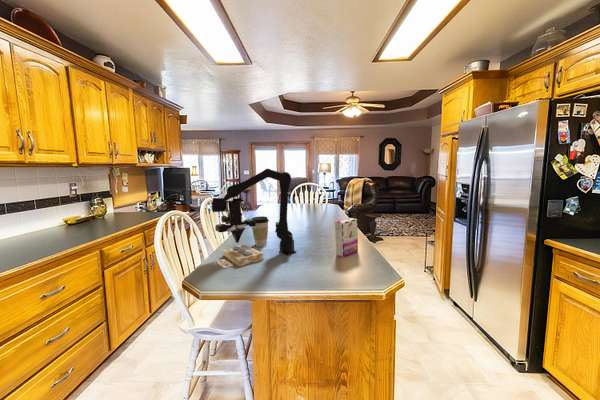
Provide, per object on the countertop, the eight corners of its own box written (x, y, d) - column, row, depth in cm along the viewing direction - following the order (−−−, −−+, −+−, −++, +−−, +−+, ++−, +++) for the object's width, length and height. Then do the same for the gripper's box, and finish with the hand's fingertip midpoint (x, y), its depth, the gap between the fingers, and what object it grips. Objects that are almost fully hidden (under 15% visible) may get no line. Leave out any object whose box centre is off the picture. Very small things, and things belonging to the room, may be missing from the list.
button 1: (239, 249, 135) (238, 244, 135) (241, 250, 133) (241, 246, 132) (233, 250, 133) (233, 245, 133) (236, 252, 131) (235, 247, 130)
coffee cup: (255, 242, 154) (253, 216, 152) (271, 242, 153) (270, 216, 151) (249, 247, 145) (247, 219, 143) (267, 247, 143) (266, 219, 141)
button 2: (249, 254, 126) (249, 249, 126) (252, 256, 124) (252, 251, 124) (243, 256, 124) (243, 251, 124) (246, 258, 122) (246, 252, 122)
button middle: (244, 252, 131) (243, 247, 130) (246, 253, 128) (246, 248, 128) (238, 253, 129) (237, 248, 128) (241, 255, 126) (240, 249, 126)
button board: (245, 250, 139) (245, 244, 139) (263, 259, 125) (263, 253, 125) (223, 255, 132) (222, 250, 132) (239, 266, 118) (238, 259, 118)
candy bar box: (350, 249, 135) (349, 217, 133) (358, 252, 132) (358, 218, 129) (335, 255, 128) (334, 221, 126) (343, 257, 124) (342, 222, 122)
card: (224, 259, 127) (224, 258, 127) (233, 265, 119) (233, 264, 119) (215, 262, 124) (214, 260, 124) (223, 268, 116) (223, 267, 116)
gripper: (245, 207, 142) (247, 236, 144) (210, 211, 131) (212, 243, 133) (255, 209, 133) (257, 240, 135) (218, 214, 122) (221, 248, 124)
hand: (237, 242), depth 132 cm, fingers closed
